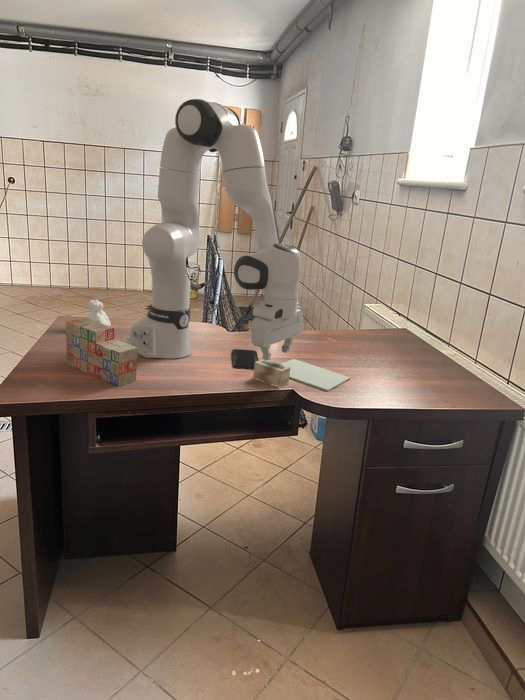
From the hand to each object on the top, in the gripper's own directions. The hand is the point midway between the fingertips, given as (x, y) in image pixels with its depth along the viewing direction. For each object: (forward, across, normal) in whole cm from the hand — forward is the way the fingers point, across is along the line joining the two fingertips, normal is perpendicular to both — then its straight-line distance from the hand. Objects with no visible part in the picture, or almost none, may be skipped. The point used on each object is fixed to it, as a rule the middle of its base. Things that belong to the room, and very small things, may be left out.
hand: (276, 355), depth 142 cm
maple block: (+8, 0, -1) cm, 8 cm away
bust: (+6, +8, -65) cm, 66 cm away
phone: (+8, -8, -16) cm, 19 cm away
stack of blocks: (+7, +31, -35) cm, 47 cm away
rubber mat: (+8, -13, +4) cm, 16 cm away
